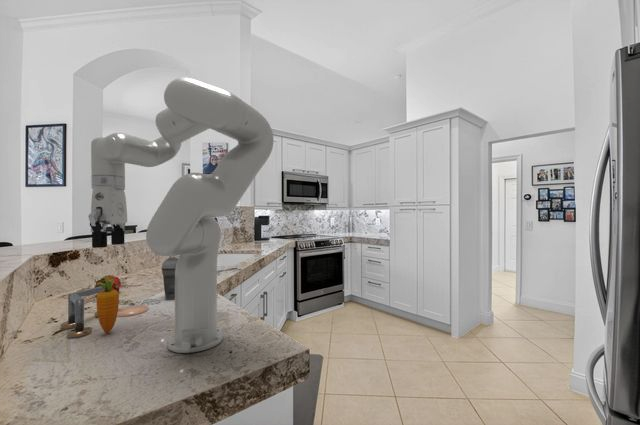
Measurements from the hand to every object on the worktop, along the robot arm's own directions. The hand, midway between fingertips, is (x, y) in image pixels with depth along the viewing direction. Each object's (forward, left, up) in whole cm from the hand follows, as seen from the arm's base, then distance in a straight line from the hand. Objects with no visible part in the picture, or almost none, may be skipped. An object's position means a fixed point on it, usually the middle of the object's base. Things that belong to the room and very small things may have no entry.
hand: (109, 245), depth 79 cm
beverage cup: (+29, -11, -23) cm, 39 cm away
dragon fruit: (+44, +15, -23) cm, 52 cm away
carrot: (-3, -1, -23) cm, 23 cm away
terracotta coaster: (+16, -1, -23) cm, 28 cm away
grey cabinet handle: (+7, +9, -23) cm, 26 cm away
